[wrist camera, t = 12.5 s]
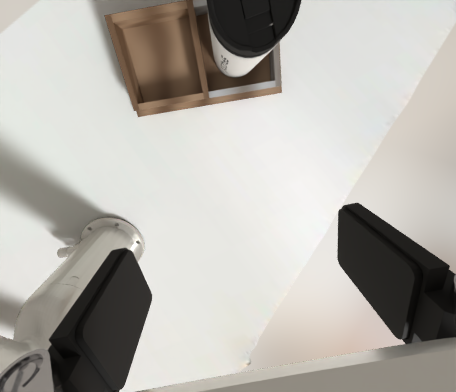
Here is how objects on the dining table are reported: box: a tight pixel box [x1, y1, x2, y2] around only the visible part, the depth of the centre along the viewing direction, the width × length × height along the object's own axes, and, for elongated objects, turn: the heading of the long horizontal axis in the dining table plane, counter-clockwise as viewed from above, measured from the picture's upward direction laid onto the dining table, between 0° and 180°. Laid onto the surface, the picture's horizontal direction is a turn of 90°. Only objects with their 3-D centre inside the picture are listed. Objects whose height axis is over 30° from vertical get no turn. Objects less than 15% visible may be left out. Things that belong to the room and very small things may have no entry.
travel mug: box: [206, 0, 301, 78], centre depth 22 cm, size 6×7×20 cm
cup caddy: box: [104, 0, 282, 117], centre depth 31 cm, size 23×13×4 cm, turn 99°
